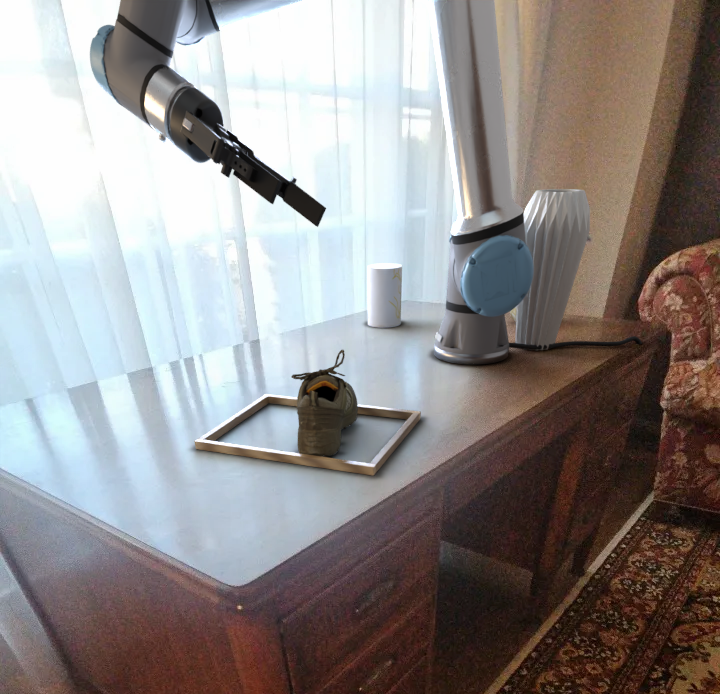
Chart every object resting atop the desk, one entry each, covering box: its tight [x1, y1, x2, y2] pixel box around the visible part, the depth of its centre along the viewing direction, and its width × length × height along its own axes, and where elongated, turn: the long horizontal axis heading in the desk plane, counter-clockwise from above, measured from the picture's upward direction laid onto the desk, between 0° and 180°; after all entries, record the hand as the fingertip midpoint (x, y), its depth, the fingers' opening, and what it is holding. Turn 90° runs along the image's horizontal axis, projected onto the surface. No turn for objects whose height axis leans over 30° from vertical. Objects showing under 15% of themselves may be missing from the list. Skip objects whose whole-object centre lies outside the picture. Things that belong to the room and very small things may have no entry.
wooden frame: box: [193, 393, 422, 477], centre depth 88 cm, size 28×22×1 cm
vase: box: [514, 188, 591, 351], centre depth 114 cm, size 13×13×26 cm
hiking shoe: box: [291, 349, 358, 457], centre depth 83 cm, size 8×20×12 cm, turn 172°
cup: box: [366, 262, 403, 329], centre depth 137 cm, size 8×8×12 cm
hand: (300, 205), depth 81 cm, fingers open, 13 cm apart
